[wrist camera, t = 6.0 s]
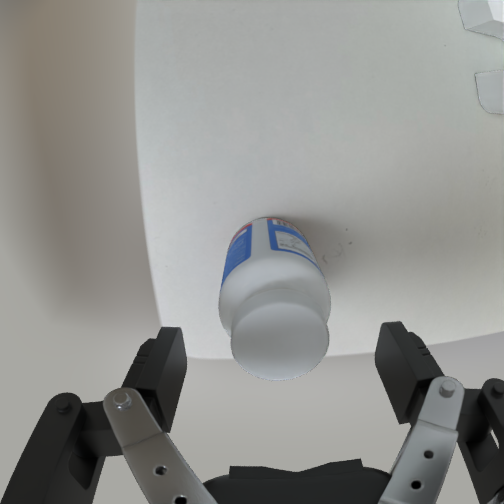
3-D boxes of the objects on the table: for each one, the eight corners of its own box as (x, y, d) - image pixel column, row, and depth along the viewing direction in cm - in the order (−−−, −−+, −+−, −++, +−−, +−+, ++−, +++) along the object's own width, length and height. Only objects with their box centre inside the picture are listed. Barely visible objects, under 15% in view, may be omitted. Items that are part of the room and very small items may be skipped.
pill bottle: (241, 299, 23) (233, 402, 14) (217, 229, 21) (187, 307, 12) (317, 279, 22) (351, 376, 13) (299, 206, 20) (333, 270, 11)
